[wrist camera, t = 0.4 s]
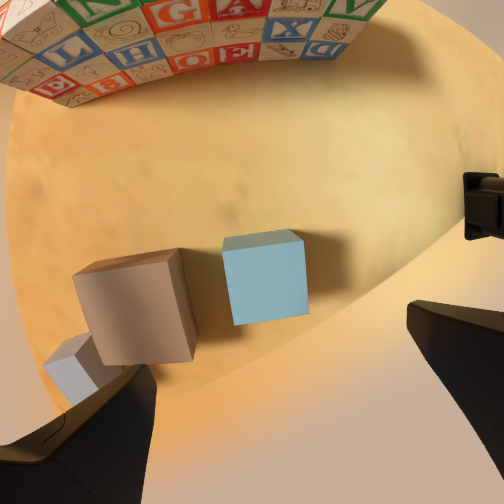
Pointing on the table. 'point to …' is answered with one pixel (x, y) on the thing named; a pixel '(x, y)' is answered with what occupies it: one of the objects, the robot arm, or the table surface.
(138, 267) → the walnut block
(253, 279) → the teal cube
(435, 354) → the robot arm
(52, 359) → the light grey cube
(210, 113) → the table surface
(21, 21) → the stack of blocks
